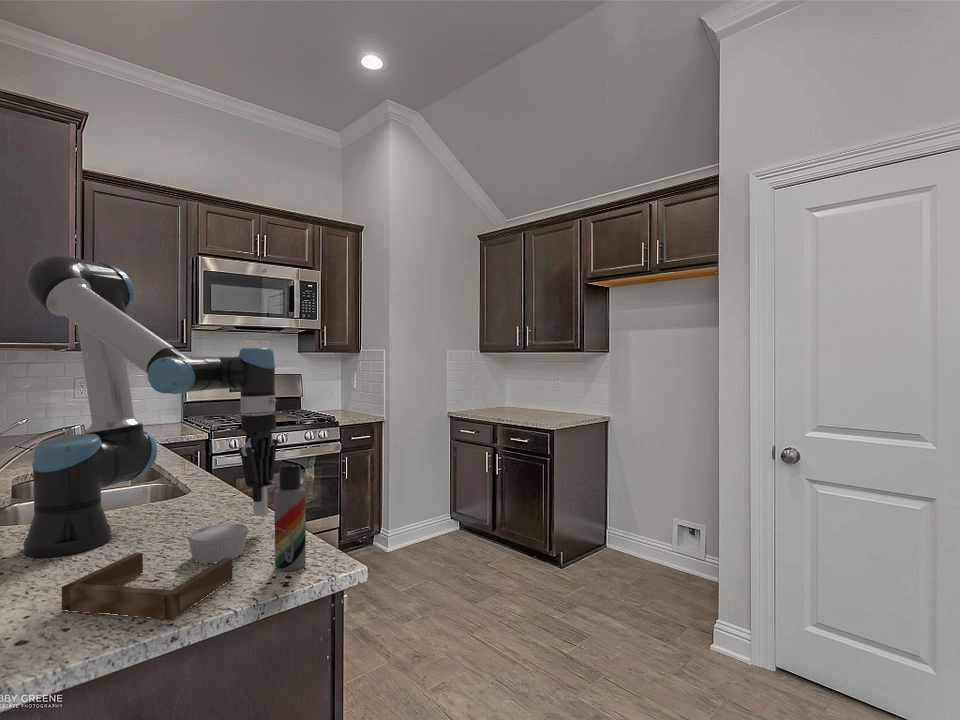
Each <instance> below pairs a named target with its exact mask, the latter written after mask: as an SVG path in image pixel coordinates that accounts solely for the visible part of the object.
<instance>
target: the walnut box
mask: <svg viewBox="0 0 960 720" xmlns="http://www.w3.org/2000/svg"><path fill="white" fill-rule="evenodd" d="M143 561H144V553H143V552H134V553H131V554H129V555H127V556H125V557H123V558H120V559H118V560H116V561H114V562H112V563H110V564H108V565H105V566H103V567H102V568H99V569H97V570H95V571H92V572H90V573H88V574H86V575H84V576H82V577H79V578H78V579H75V580H74V581H71V582H69V583H67V584H65V585H63V586H61V611H62V610H68V611H79V612H90V613H110V614H118V615H128V616H139V617H151V618H160V619H159V620H162V619H174V618H176V617H177V616H179V615H180V614H181V613H183V612H184V611H186V610H187V609H189V608H190V607H191V606H193V605H194V604H195V603H197V602H199V601H200V600H201V599H203V598H204V597H206V596H207V595H209V594H210V593H212V592H213V591H215V590H216V589H218V588H219V587H220V586H222V585H223V584H225V583H226V582H228V581H229V580H231V579H232V580H233V560H232V558H223V559H222V560H220V561H219V562H217V563H215V564H211V566H209V567H206V568H205V569H204V570H202V571H200V572H199V573H196V574H195V575H194V576H192V577H190V578H188V579H187V580H185V581H183V582H182V583H181V584H179V585H177V586H175V587H174V588H172V589H160V588H147V587H133V586H132V587H131V586H122V585H121V584H123V583H124V584H126V583H128V582H130V581H132V580H133V579H132V578H134V579H136V578H137V577H136V576H138V575H140V574H141V573H144V563H143ZM140 576H141V575H140ZM135 577H136V578H135ZM138 577H139V576H138ZM131 579H132V580H131ZM129 580H130V581H129ZM232 580H231V581H232ZM127 581H128V582H127ZM125 582H126V583H125ZM228 583H229V582H228ZM124 584H123V585H124ZM119 585H121V586H119ZM225 585H226V584H225ZM218 590H219V589H218ZM215 592H216V591H215ZM212 594H213V593H212ZM209 596H210V595H209ZM206 598H207V597H206ZM199 603H200V602H199ZM193 607H194V606H193ZM190 609H191V608H190ZM190 609H189V610H190ZM186 612H187V611H186ZM183 614H184V613H183ZM180 616H181V615H180ZM180 616H179V617H180ZM177 618H178V617H177ZM177 618H176V619H177ZM174 620H175V619H174Z"/></svg>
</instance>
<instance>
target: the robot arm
mask: <svg viewBox="0 0 960 720" xmlns="http://www.w3.org/2000/svg"><path fill="white" fill-rule="evenodd" d="M25 285H26V289H27V291H28V293H29V295H30V296H31V298H32V299H33V300H34V301H35V302H36V303H37V304H38V305H40V306H41V307H42V308H44V309H46V310H47V311H48V312H50V313H51V314H53V315H55V316H58V317H66V318H67V319H68V320H70V321H71V322H73V323H74V324H75V325H76V326H77V329H78V337H79V344H80V345H79V346H80V350H81V351H80V353H81V357H82V365H83V370H84V376H85V377H84V378H85V385H86V390H87V391H86V392H87V399H88V400H87V401H88V404H89V406H88V407H89V412H90V419H91V424H90V426H89V427H88V428H87V429H86V430H85V432H84V433H78V434H77V433H75V434H71V435H68V436H67V435H66V436H64V435H63V436H59V437H54V438H51V439H48V440H45V441H44V442H42V443H40V444H38V445H37V446H36V448H35V449H34V452H33V462H32V465H31V466H32V473H33V474H32V475H33V476H32V477H33V478H32V479H33V517H32V519H31V523H30V526H29V530H28V533H27V536H26V538H25V539H24V540H23V554H24V556H27V557H31V558H52V557H61V556H68V555H72V554H73V555H74V554H78V553H83V552H85V551H88V550H91V549H95V548H98V547H100V546H102V545H104V544H107V543H109V542H110V540H111V539H112V530H111V529H112V528H111V526H110V524H109V523H108V519H107V517H106V513H105V511H104V509H103V506H102V489H103V488H106V487H110V486H113V485H116V484H119V483H122V482H129V481H132V480H134V479H136V478H140V477H141V476H143V475H145V474H146V473H148V472H149V471H150V470H151V468H152V467H153V466H154V464H155V462H156V459H157V457H158V446H157V442H156V440H155V438H154V437H153V436H151V434H150V433H149V432H147V431H145V430H144V425H143V422H142V421H140V420H138V419H137V418H136V417H135V414H134V407H133V401H132V394H131V387H130V380H129V372H128V367H127V361H128V362H130V363H131V364H133V365H134V366H136V368H139V369H140V370H141V371H142V372H144V373H145V374H146V375H147V381H148V383H149V384H150V387H151V388H152V389H153V390H155V391H156V392H158V393H161V394H172V395H173V394H174V395H177V394H183V393H184V394H185V393H190V392H197V391H198V392H201V391H209V390H210V391H211V390H223V389H224V390H228V389H231V390H232V389H239V391H240V413H241V414H243V415H241V417H240V426H241V427H240V428H241V429H240V430H241V431H242V432H244V433H245V435H246V436H245V440H244V443H245V444H244V445H243V447H242V446H241V447H239V448H238V453H239V456H240V458H241V463H242V469H243V475H244V480H245V485H246V487H247V488H251V489H252V500H253V501H252V505H253V507H252V508H253V509H252V510H253V516H267V515H268V514H269V508H268V506H269V505H268V503H269V502H268V486H271V485H273V482H272V481H273V479H274V471H275V463H276V452H277V447H278V445H279V444H278V443H279V439H275V438H273V433H272V431H274V430H275V429H276V428H277V417H276V416H277V415H276V414H275V413H273V412H275V411H276V402H277V400H276V388H275V386H276V380H275V379H276V378H275V377H276V375H275V372H276V364H275V355H274V354H275V353H274V351H273V349H272V348H269V347H244V348H243V347H242V348H241V349H240V350H239V354H238V356H201V357H200V356H187V355H186V354H184V353H183V352H181V351H180V350H178V349H176V347H174V346H172V344H170V343H168V342H166V341H165V340H163V339H162V338H161V337H159V336H158V335H156V334H155V333H154V332H152V331H151V330H149V329H148V328H146V327H145V326H143V325H142V324H141V323H140V322H137V321H136V319H134V318H132V317H131V316H129V315H128V314H127V309H128V308H129V307H130V306H131V304H132V303H131V302H133V300H134V297H135V289H134V285H133V283H132V280H131V278H130V277H129V275H127V273H126V272H124V271H123V270H121V269H120V268H118V267H116V266H112V265H110V264H107V263H104V262H96V261H90V260H85V259H79V258H75V257H71V256H64V255H49V256H46V257H45V256H44V257H42V258H40V259H38V260H37V261H35V262H34V263H33V264H32V265H31V266H30V267H29V269H28V271H27V273H26V277H25Z"/></svg>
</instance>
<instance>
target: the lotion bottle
mask: <svg viewBox="0 0 960 720" xmlns="http://www.w3.org/2000/svg"><path fill="white" fill-rule="evenodd" d="M278 469H279V473H278V475H279V477H278V478H279V479H278V480H279V481H278V482H279V483H278V485H279V488H277V489H275V490H274V564H275V565H274V567H275V569H276V570H277V571H278V570H279V571H278V572H284V571H287V572H293V570H294V571H297V569H298V570H300V569H302V568H304V567H305V565H306V560H307V559H306V558H307V555H306V553H307V549H306V548H307V547H306V546H307V542H306V540H307V539H306V534H307V533H306V529H307V527H306V526H307V525H306V518H307V517H306V488H305V487H303V486H301V484H302V483H301V465H300V464H295V465H285V466H284V465H282V466H281V465H280V466H279V468H278Z"/></svg>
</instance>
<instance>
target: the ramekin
mask: <svg viewBox="0 0 960 720" xmlns="http://www.w3.org/2000/svg"><path fill="white" fill-rule="evenodd" d="M248 532H249V530H248V526H247V525H245V524H242V523H232V522H231V523H218V524H217V523H216V524H211V525H207V526H204V527H200V528H197V529H195V530H193V531H191V532H190V533H188V535H187V541H188V543H189V550H190V555H191V557H192V559H193V561H194V562H195V561H197V562H201V563H215V562H219V561H220V560H222V559H223V558H232V559H233V558H236V557H237V558H239V557H240V556H242V554H243V552H245V547H246V540H247V534H248ZM239 555H240V556H239ZM238 556H239V557H238ZM237 558H236V559H237ZM233 560H234V559H233ZM197 562H196V563H197Z"/></svg>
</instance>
